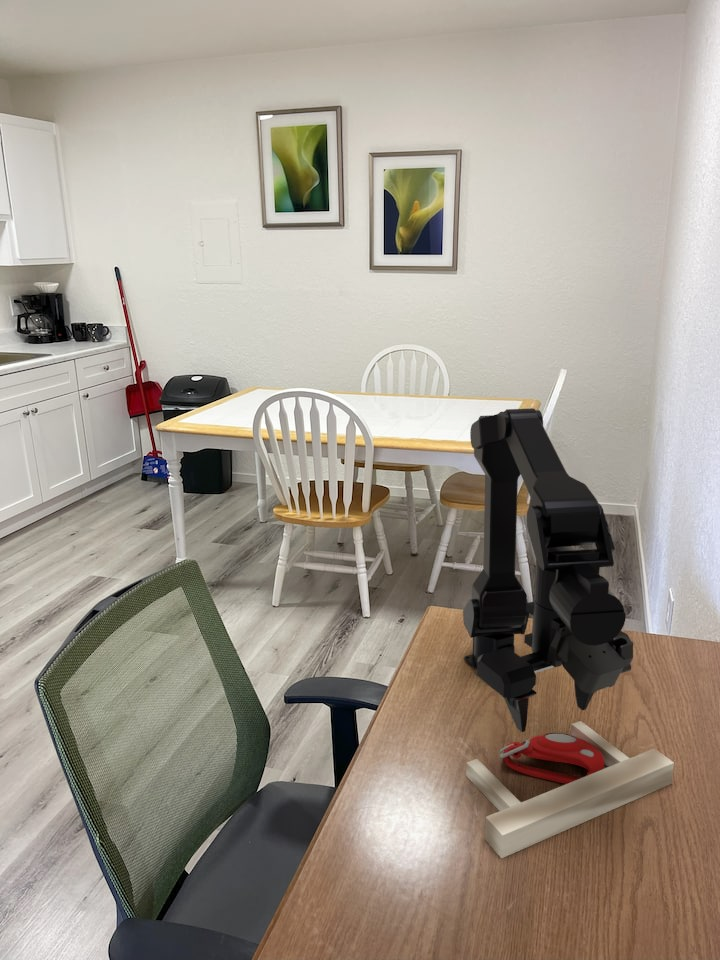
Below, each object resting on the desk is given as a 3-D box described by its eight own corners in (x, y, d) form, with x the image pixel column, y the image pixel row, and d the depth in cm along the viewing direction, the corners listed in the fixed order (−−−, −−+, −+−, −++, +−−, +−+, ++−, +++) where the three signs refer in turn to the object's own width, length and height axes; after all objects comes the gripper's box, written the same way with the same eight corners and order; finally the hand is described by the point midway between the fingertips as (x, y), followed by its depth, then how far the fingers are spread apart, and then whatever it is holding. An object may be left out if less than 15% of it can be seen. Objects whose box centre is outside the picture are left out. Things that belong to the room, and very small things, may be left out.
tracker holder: (554, 722, 99) (619, 742, 91) (554, 755, 99) (618, 779, 91) (491, 736, 92) (555, 760, 84) (490, 772, 92) (554, 799, 84)
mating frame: (438, 786, 89) (438, 765, 88) (596, 727, 99) (598, 708, 98) (501, 858, 78) (502, 835, 77) (671, 783, 88) (674, 762, 88)
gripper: (540, 653, 73) (532, 785, 77) (676, 611, 80) (661, 733, 85) (475, 607, 82) (471, 727, 87) (602, 574, 90) (593, 686, 95)
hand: (551, 719), depth 88 cm, fingers open, 9 cm apart
